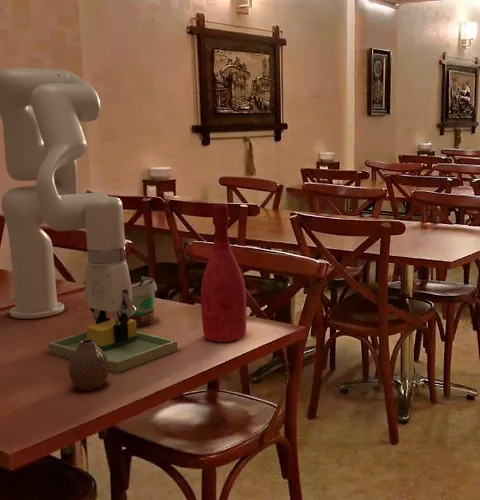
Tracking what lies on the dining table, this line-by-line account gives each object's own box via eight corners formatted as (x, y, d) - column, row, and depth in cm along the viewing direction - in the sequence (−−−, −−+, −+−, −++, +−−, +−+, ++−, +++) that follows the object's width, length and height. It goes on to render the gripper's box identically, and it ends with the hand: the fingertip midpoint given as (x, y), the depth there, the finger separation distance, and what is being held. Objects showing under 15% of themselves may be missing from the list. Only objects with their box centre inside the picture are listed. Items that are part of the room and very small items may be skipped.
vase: (76, 379, 132) (72, 335, 131) (114, 378, 133) (110, 334, 131) (65, 394, 126) (61, 347, 124) (104, 393, 126) (101, 346, 125)
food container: (143, 332, 161) (141, 289, 159) (119, 330, 162) (116, 288, 160) (167, 316, 173) (165, 277, 171) (144, 315, 174) (142, 276, 172)
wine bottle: (193, 337, 157) (187, 203, 152) (229, 327, 164) (224, 199, 159) (220, 346, 151) (215, 208, 145) (256, 336, 158) (252, 203, 152)
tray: (49, 352, 147) (48, 343, 147) (110, 333, 160) (109, 324, 160) (117, 373, 136) (117, 362, 135) (177, 350, 149) (177, 340, 148)
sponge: (87, 347, 149) (86, 327, 148) (122, 335, 156) (120, 316, 155) (103, 351, 146) (101, 331, 145) (137, 339, 153) (136, 320, 152)
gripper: (65, 254, 149) (72, 337, 152) (119, 263, 140) (125, 351, 143) (95, 248, 155) (101, 328, 158) (148, 257, 146) (153, 341, 149)
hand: (112, 338), depth 151 cm, fingers closed on sponge, 5 cm apart
